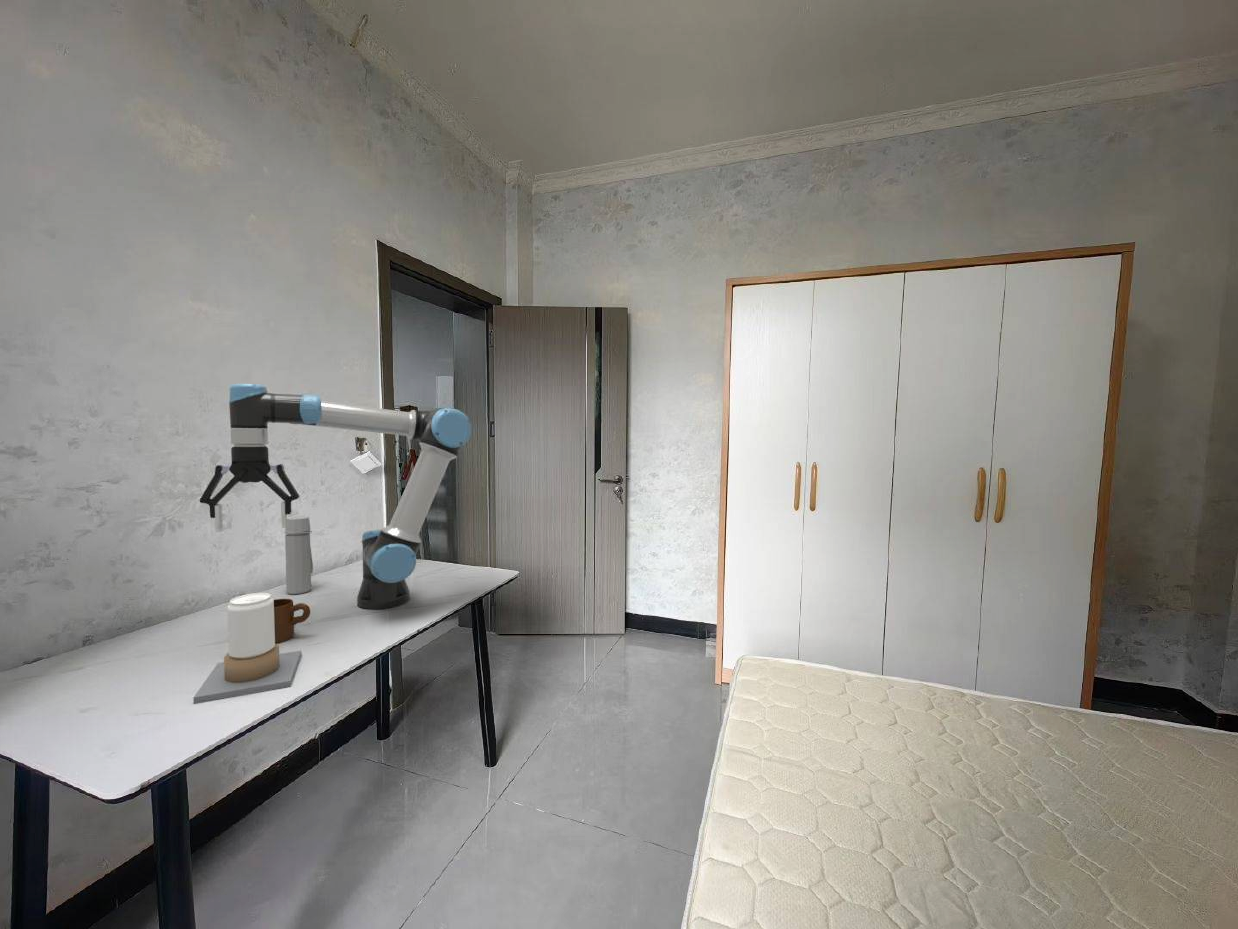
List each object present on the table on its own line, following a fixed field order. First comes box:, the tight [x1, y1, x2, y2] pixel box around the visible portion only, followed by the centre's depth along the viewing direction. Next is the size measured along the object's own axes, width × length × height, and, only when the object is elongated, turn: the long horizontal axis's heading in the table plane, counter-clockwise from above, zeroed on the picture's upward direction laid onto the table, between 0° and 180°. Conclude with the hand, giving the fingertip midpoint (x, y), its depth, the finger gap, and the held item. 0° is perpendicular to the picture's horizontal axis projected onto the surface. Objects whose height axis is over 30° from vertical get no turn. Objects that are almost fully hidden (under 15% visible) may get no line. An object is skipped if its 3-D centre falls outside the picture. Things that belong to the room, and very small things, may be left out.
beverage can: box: [226, 592, 276, 659], centre depth 107 cm, size 8×8×12 cm
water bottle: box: [283, 515, 314, 595], centre depth 165 cm, size 9×8×25 cm
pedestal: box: [193, 643, 302, 704], centre depth 107 cm, size 16×16×6 cm
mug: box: [273, 598, 312, 644], centre depth 127 cm, size 12×8×9 cm, turn 97°
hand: (252, 528), depth 125 cm, fingers open, 13 cm apart
